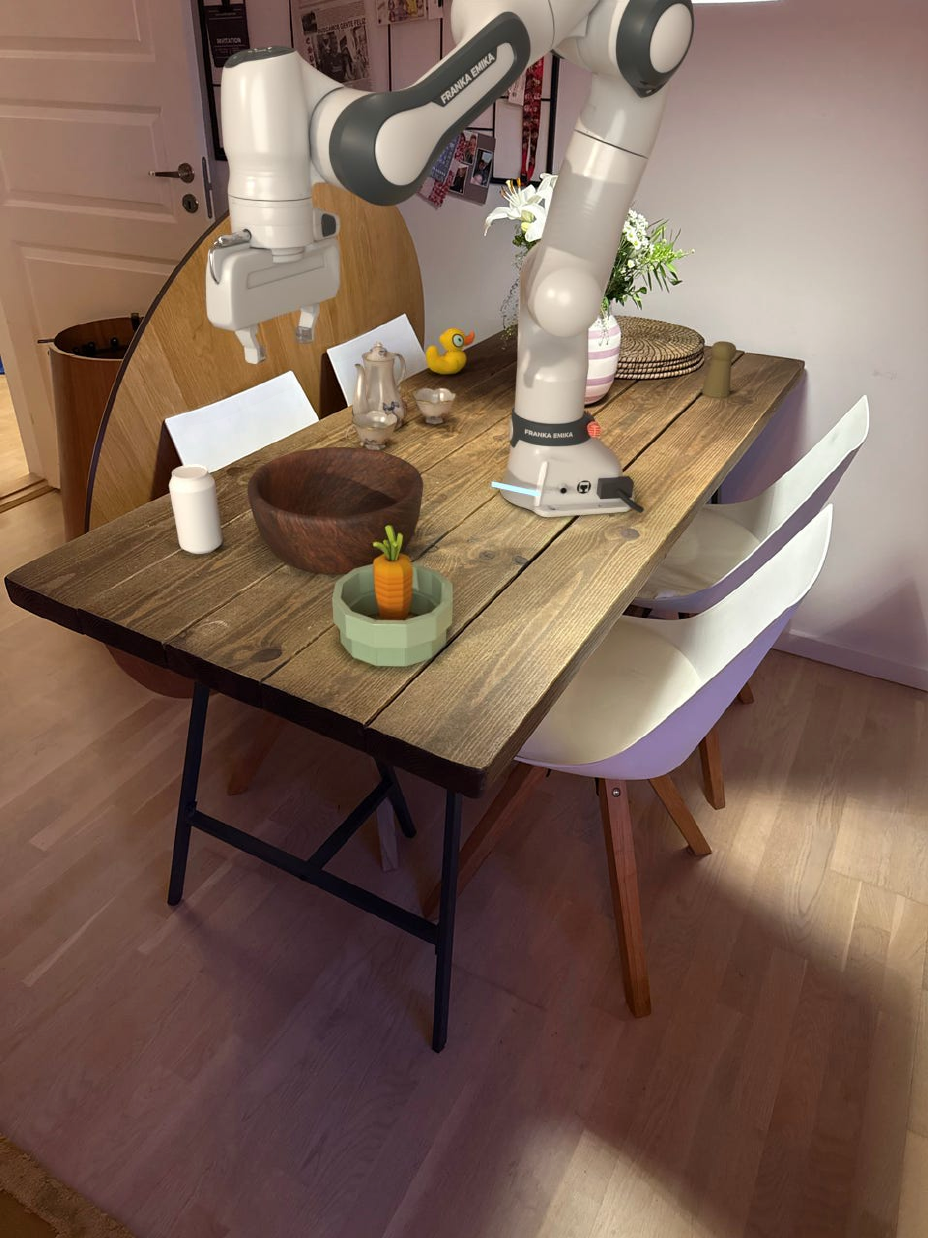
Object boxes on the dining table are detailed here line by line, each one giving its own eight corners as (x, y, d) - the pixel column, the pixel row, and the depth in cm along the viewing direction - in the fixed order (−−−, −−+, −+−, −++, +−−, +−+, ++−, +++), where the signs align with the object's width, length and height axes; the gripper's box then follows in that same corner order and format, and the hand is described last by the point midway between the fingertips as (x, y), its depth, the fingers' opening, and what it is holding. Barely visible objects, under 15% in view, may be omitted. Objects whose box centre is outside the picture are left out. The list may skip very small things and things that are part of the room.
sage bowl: (451, 605, 117) (452, 562, 113) (451, 671, 105) (452, 625, 101) (342, 603, 116) (340, 560, 113) (329, 669, 104) (326, 623, 101)
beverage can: (230, 539, 130) (220, 464, 123) (212, 559, 125) (200, 482, 118) (192, 534, 131) (179, 460, 124) (172, 554, 126) (158, 477, 119)
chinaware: (381, 469, 156) (387, 381, 147) (309, 439, 162) (310, 352, 153) (463, 423, 176) (473, 342, 167) (396, 398, 183) (402, 319, 173)
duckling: (468, 367, 202) (470, 323, 196) (477, 374, 198) (479, 329, 192) (422, 371, 198) (422, 326, 193) (430, 379, 194) (430, 333, 189)
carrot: (408, 649, 108) (407, 543, 100) (369, 643, 109) (365, 537, 101) (417, 627, 112) (417, 523, 104) (380, 622, 113) (377, 518, 105)
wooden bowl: (401, 596, 118) (400, 528, 113) (227, 575, 122) (217, 508, 116) (438, 514, 139) (438, 454, 133) (288, 498, 142) (282, 439, 136)
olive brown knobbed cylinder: (700, 387, 195) (709, 337, 189) (727, 389, 194) (737, 339, 188) (702, 396, 190) (712, 345, 184) (730, 398, 189) (741, 347, 183)
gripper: (232, 242, 86) (245, 380, 93) (348, 216, 101) (351, 336, 109) (183, 234, 88) (199, 369, 95) (303, 209, 103) (309, 328, 111)
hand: (281, 351), depth 102 cm, fingers open, 8 cm apart
